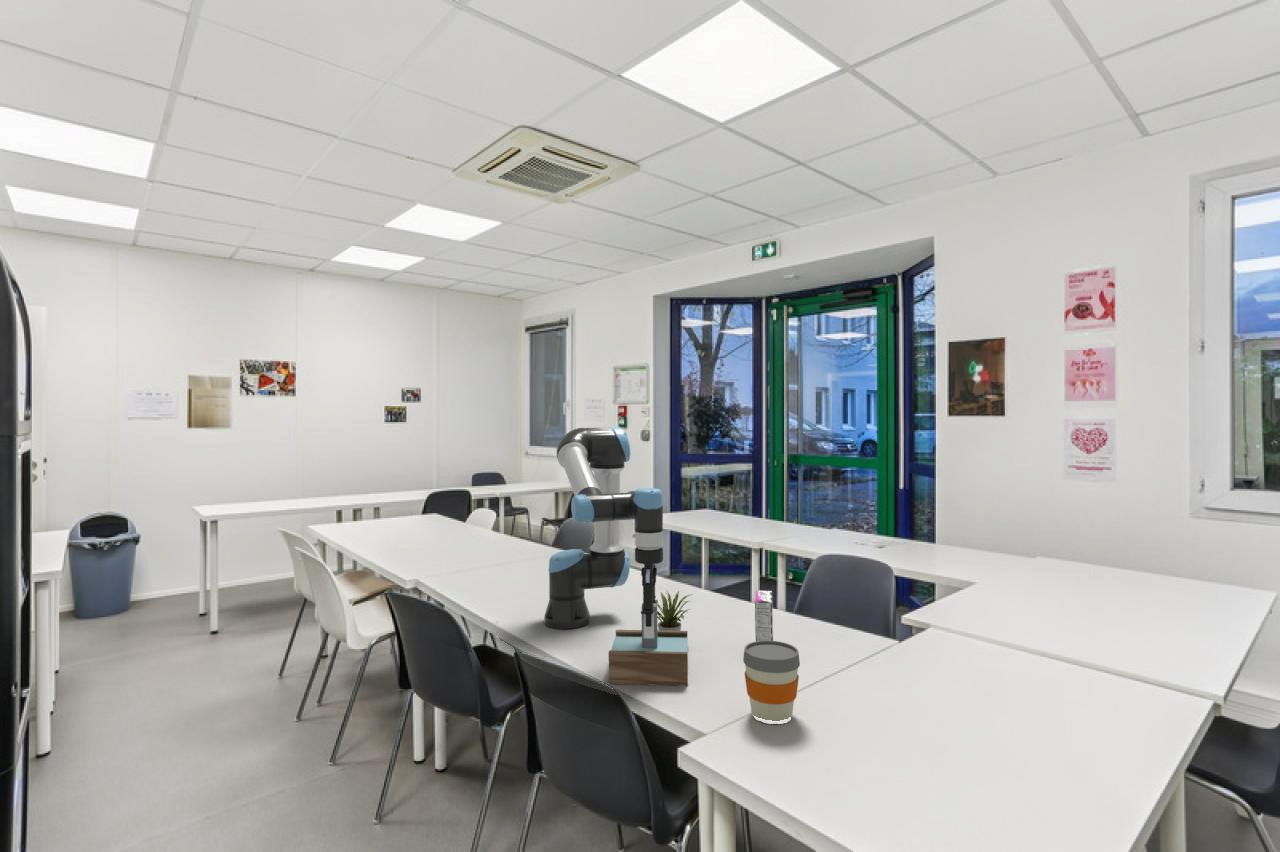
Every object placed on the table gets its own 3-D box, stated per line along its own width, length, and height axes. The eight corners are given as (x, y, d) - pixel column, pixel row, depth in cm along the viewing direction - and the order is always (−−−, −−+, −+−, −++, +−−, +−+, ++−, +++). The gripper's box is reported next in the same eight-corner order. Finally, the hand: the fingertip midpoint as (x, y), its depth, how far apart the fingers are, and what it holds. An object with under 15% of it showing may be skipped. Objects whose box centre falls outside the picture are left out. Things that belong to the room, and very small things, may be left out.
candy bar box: (755, 644, 188) (755, 589, 188) (773, 645, 187) (772, 590, 187) (755, 658, 177) (754, 600, 177) (773, 660, 176) (772, 601, 176)
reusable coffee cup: (789, 734, 135) (789, 664, 135) (734, 720, 142) (734, 653, 141) (807, 711, 146) (807, 646, 145) (755, 698, 152) (755, 636, 152)
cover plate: (615, 639, 177) (615, 596, 177) (687, 640, 175) (687, 597, 175) (609, 659, 162) (608, 613, 162) (687, 661, 160) (687, 614, 160)
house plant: (707, 645, 188) (707, 590, 188) (677, 658, 178) (677, 600, 178) (670, 634, 198) (670, 582, 198) (640, 646, 188) (640, 591, 188)
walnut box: (616, 659, 178) (616, 629, 178) (687, 660, 177) (687, 630, 176) (608, 684, 161) (608, 652, 161) (687, 686, 159) (687, 653, 159)
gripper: (637, 539, 178) (638, 620, 179) (631, 554, 159) (632, 646, 159) (664, 539, 178) (665, 621, 178) (661, 555, 158) (662, 646, 158)
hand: (649, 632), depth 169 cm, fingers open, 7 cm apart
